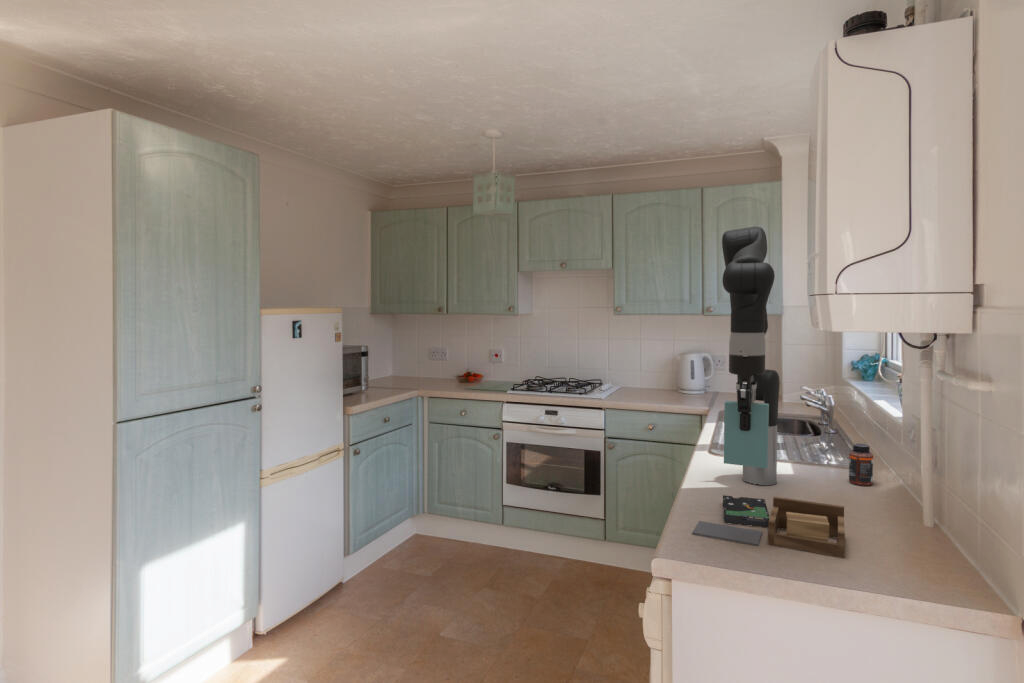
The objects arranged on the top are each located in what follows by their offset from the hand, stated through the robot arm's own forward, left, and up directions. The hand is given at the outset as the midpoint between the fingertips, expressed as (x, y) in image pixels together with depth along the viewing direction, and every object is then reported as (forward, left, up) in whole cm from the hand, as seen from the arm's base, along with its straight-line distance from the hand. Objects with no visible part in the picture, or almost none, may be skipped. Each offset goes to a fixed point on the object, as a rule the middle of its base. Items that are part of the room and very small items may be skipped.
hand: (745, 428), depth 129 cm
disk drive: (-13, -2, -25) cm, 29 cm away
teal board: (0, 0, -8) cm, 8 cm away
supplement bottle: (-55, +24, -25) cm, 65 cm away
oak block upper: (-1, +13, -22) cm, 25 cm away
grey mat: (+1, -4, -24) cm, 25 cm away
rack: (-3, +12, -24) cm, 28 cm away
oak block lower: (-1, +13, -25) cm, 28 cm away
